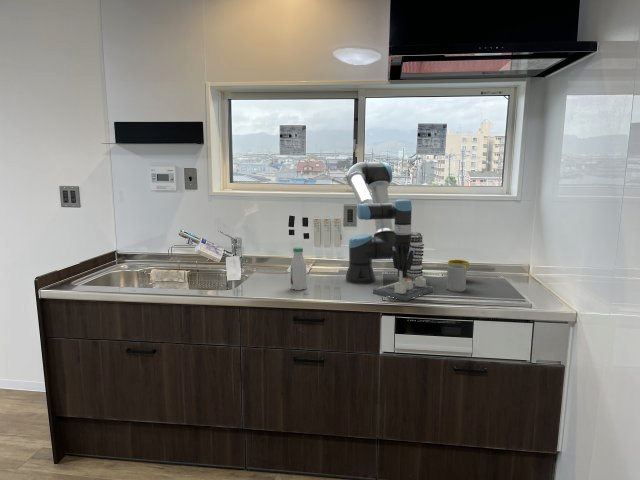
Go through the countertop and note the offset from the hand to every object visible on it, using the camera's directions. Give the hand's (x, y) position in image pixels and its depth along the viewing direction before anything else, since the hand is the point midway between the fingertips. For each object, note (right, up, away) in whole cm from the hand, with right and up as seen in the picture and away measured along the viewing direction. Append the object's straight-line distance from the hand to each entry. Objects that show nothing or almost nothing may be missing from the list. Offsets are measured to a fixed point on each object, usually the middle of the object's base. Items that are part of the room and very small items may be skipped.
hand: (402, 284), depth 206 cm
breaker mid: (+2, -2, -2) cm, 3 cm away
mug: (+27, -3, +7) cm, 28 cm away
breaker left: (-2, -3, -8) cm, 9 cm away
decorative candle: (+10, -1, +21) cm, 23 cm away
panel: (+1, -4, 0) cm, 4 cm away
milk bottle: (-48, -3, +10) cm, 49 cm away
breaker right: (+9, -1, +3) cm, 10 cm away
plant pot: (+33, 0, +22) cm, 39 cm away
